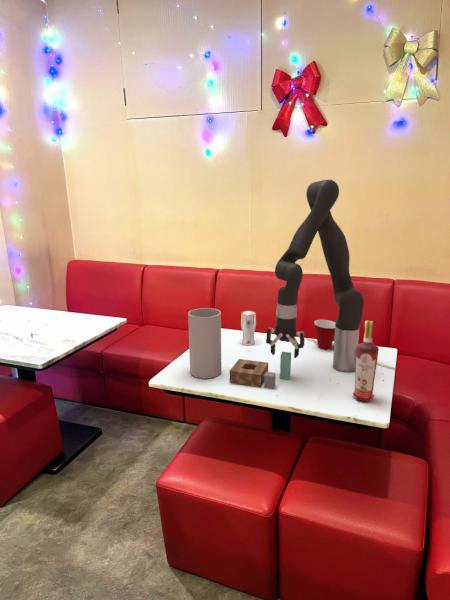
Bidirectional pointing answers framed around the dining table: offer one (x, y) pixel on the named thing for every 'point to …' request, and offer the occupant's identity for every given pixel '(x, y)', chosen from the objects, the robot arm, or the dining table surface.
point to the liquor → (365, 365)
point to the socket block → (248, 372)
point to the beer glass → (248, 327)
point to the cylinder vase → (205, 342)
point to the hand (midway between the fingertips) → (284, 355)
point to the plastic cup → (325, 333)
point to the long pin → (285, 365)
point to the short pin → (269, 380)
